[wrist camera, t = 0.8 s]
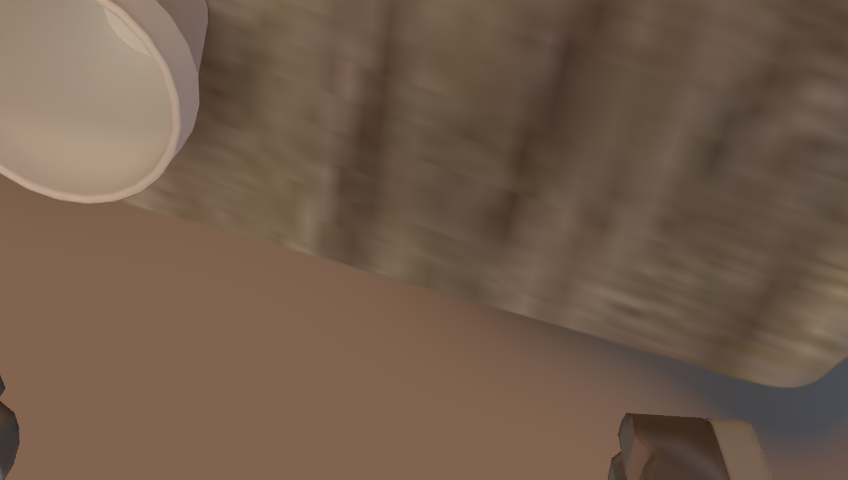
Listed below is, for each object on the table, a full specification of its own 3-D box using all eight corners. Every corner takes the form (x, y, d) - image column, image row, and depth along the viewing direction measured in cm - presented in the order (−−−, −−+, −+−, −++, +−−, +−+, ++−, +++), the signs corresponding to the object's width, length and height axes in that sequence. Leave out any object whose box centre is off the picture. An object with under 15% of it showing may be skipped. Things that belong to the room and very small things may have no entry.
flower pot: (180, 132, 54) (98, 245, 43) (20, 6, 50) (-118, 94, 38) (291, 9, 48) (231, 100, 37) (122, -146, 44) (-4, -95, 33)
